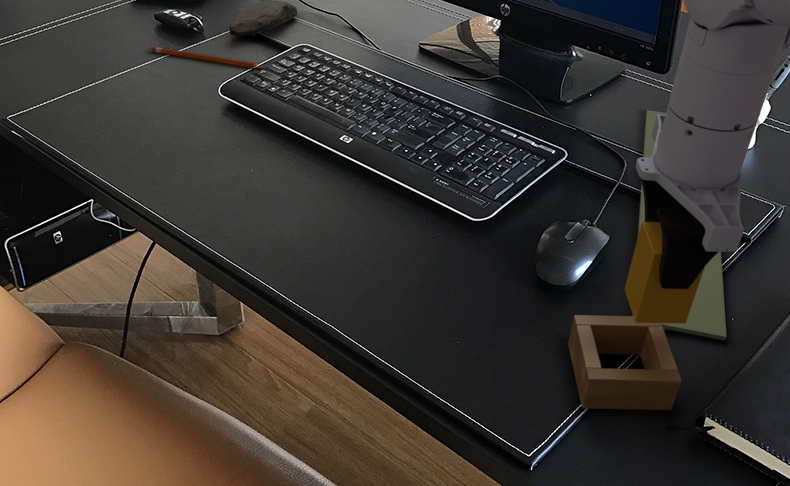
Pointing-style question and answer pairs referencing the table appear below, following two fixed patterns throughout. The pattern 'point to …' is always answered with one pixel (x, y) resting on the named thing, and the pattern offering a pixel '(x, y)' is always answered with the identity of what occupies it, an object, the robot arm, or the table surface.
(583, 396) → the stand
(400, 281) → the table surface
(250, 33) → the stone
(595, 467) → the table surface
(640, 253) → the block
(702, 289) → the mat
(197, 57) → the pencil
